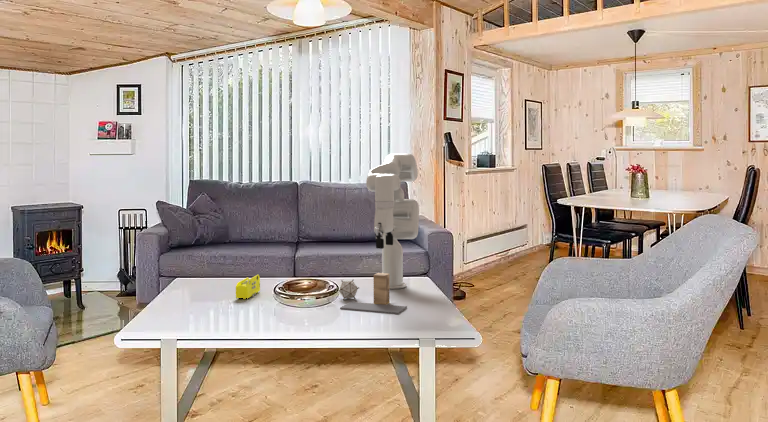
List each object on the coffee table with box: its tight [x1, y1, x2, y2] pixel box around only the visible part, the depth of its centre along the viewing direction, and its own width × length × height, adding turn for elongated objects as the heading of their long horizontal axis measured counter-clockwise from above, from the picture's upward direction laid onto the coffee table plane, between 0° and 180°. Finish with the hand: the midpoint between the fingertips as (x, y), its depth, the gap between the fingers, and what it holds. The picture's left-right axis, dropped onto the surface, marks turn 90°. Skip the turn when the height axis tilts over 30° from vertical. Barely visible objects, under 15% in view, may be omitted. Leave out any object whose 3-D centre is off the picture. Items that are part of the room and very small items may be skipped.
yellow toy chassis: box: [235, 274, 261, 300], centre depth 253 cm, size 16×6×8 cm, turn 173°
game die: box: [338, 279, 360, 301], centre depth 247 cm, size 9×8×10 cm
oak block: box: [373, 272, 390, 305], centre depth 238 cm, size 5×5×12 cm
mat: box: [339, 301, 408, 315], centre depth 231 cm, size 10×24×1 cm, turn 70°
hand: (384, 246), depth 242 cm, fingers open, 9 cm apart
